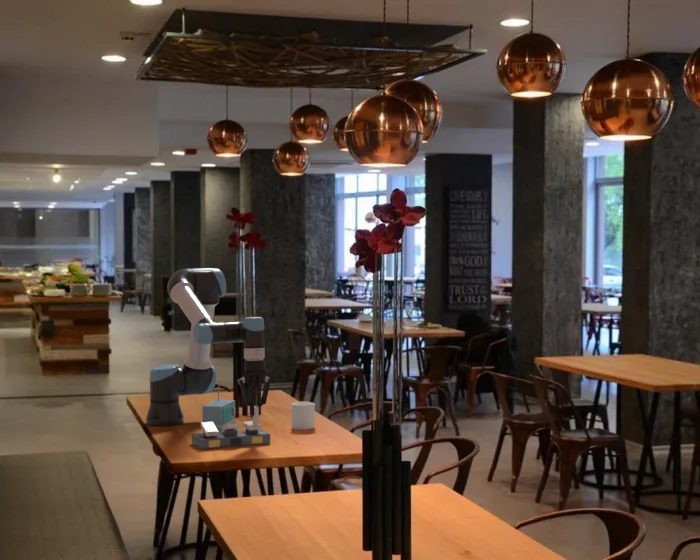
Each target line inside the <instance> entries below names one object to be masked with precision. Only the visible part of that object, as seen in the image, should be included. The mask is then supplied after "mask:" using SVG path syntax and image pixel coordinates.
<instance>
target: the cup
mask: <svg viewBox="0 0 700 560" xmlns="http://www.w3.org/2000/svg"><path fill="white" fill-rule="evenodd" d="M315 407H316V404H315V403H314V402H311V401H295V402H293V403H291V428H292V430H295V431H296V430H297V431H308V429H310V430H313V429H314V428H315V425H316V417H315V415H316V414H315Z"/></svg>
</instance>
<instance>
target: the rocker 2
mask: <svg viewBox="0 0 700 560" xmlns="http://www.w3.org/2000/svg"><path fill="white" fill-rule="evenodd" d="M240 428H241V424H240V422H235V423H231V424H227V425H225V426H223V427H222V431H225V430H239V429H240Z"/></svg>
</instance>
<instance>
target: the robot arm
mask: <svg viewBox="0 0 700 560" xmlns="http://www.w3.org/2000/svg"><path fill="white" fill-rule="evenodd" d="M167 293H168V297H169V298H170V300H172V302H173V303H175V304H178V307H179V308H180V310H182V312H183V313H184V316H186V318H187V319H188V321H189V322H190V324H191V327H190V335H189V336H190V337H189V338H190V339H189V344H188V345H189V347H188V357H187V358H186V359H184V361H183V366H180V365H179V364H176V363H170V364H162V365H161V364H160V365H157V366H154V367H152V369H150V370H149V371H150V372H149V408H148V411H147V413H146V417H145V424H146V425H149V426H153V427H154V426H156V427H157V426H159V427H161V426H162V427H163V426H164V427H165V426H177V425H181V424H183V423H185V420H184V419H185V418H184V414H183V411H182V408H181V405H180V397H181V396H182V397H183V396H194V395H204V394H209V393H211V392H212V391H213V390H214V388H215V386H216V382H217V371H216V368H215V366H213V362H212V361H211V360H210V353H211V345H213V344H230V343H232V344H233V343H243V359H244V361H243V362H244V363H243V368H244V369H243V371H244V372H243V374H242V377H241V378H238V379H237V381H236V382H237V384H238V385H239V387H240V391H241V394H242V395H241V396H242V398H243V403H244V405H245V406H248V407H249V415H250V416H251V417H252V421H253V425H259V424H260V416H261V415H262V406H263V405H266V404H267V401H268V396H269V395H268V394H269V390H270V386H271V385H270V384H272V382H273V378H272V377H269V376H267V373H266V361H265V360H264V359H265V358H266V356H265V354H266V353H265V351H266V350H265V322H264V321H265V320H264V318H263V317H262V316H248V317H246V316H245V317H244V318H243V321H242V320H239V321H229V322H227V321H225V322H216V321H215V320H214V318H215V308H216V306H217V305H218V304H219V303H220V300H221V299H220V298H223V297H225V295H226V293H227V281H226V278H225V274H224V273H223V272H222V270H221V269H219V268H214V267H203V268H202V267H200V268H199V267H197V268H196V267H194V268H182V269H179V270H177V271H175V272H174V273H173V274H172V275H171V276H170V277H169V280H168V282H167ZM245 383H247V384H248V391H247V388H246V384H245ZM262 383H264V385H263V384H262ZM262 385H263V389H262Z"/></svg>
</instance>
